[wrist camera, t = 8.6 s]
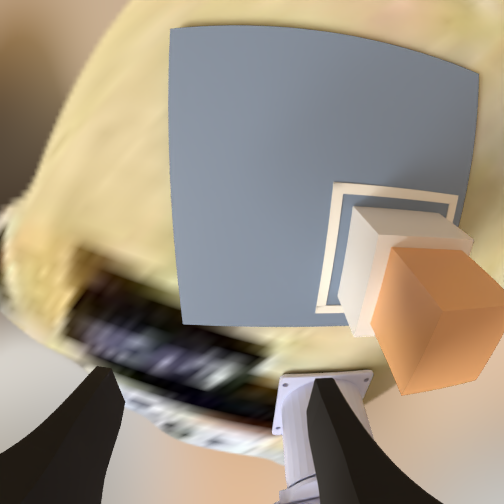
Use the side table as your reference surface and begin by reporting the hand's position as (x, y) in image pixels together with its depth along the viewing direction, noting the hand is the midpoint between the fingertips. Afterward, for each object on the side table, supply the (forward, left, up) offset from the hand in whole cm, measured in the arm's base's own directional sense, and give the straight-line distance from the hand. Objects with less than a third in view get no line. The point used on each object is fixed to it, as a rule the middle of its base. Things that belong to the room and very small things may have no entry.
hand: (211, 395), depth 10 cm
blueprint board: (+5, -6, -10) cm, 12 cm away
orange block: (+1, -10, -5) cm, 11 cm away
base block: (+1, -10, -9) cm, 14 cm away
